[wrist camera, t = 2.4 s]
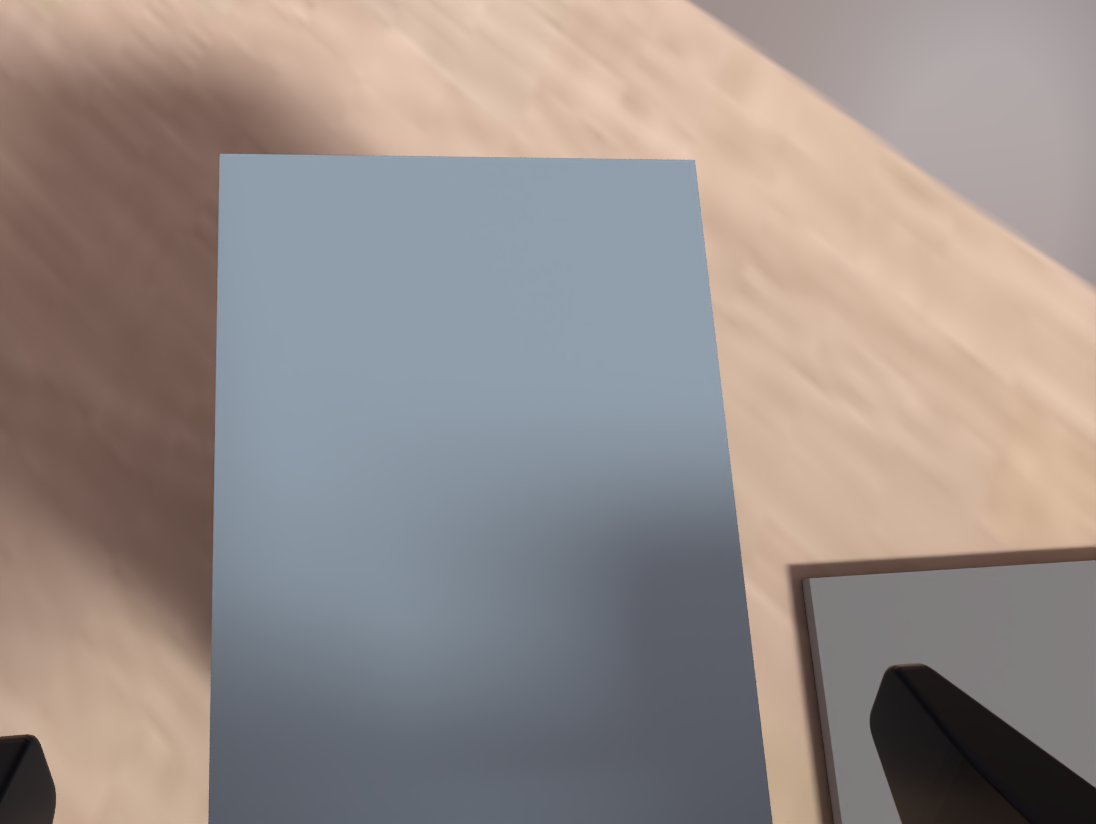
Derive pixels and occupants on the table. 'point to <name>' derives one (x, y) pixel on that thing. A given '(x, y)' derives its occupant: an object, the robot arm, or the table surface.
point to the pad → (954, 661)
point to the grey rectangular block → (473, 499)
